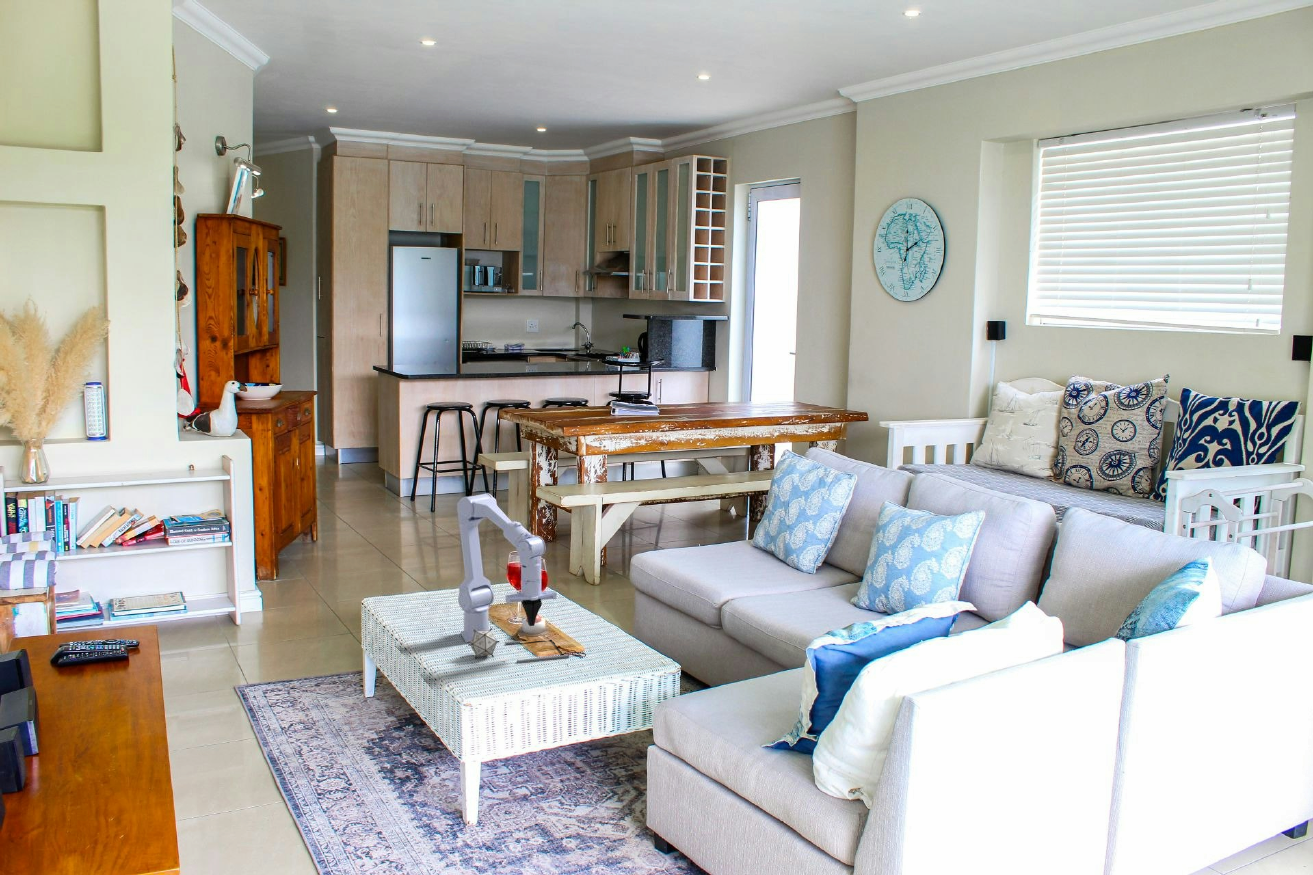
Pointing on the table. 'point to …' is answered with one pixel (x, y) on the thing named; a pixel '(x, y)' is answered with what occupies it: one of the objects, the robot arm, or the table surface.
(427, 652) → the table surface
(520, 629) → the dome base
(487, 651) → the game die
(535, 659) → the frame
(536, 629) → the dome
